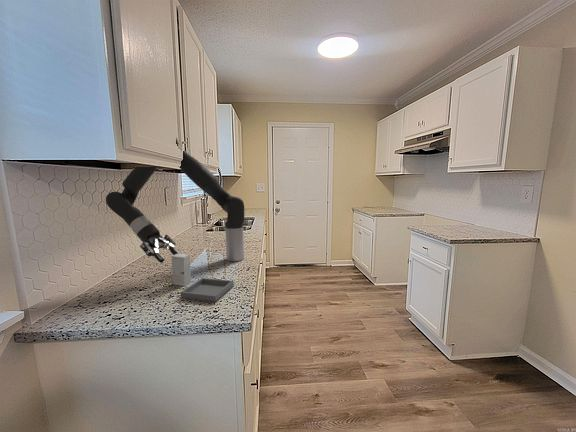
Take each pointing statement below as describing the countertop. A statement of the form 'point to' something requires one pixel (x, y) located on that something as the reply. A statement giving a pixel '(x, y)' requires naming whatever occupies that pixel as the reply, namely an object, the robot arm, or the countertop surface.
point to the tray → (207, 290)
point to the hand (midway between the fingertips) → (170, 258)
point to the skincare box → (181, 269)
